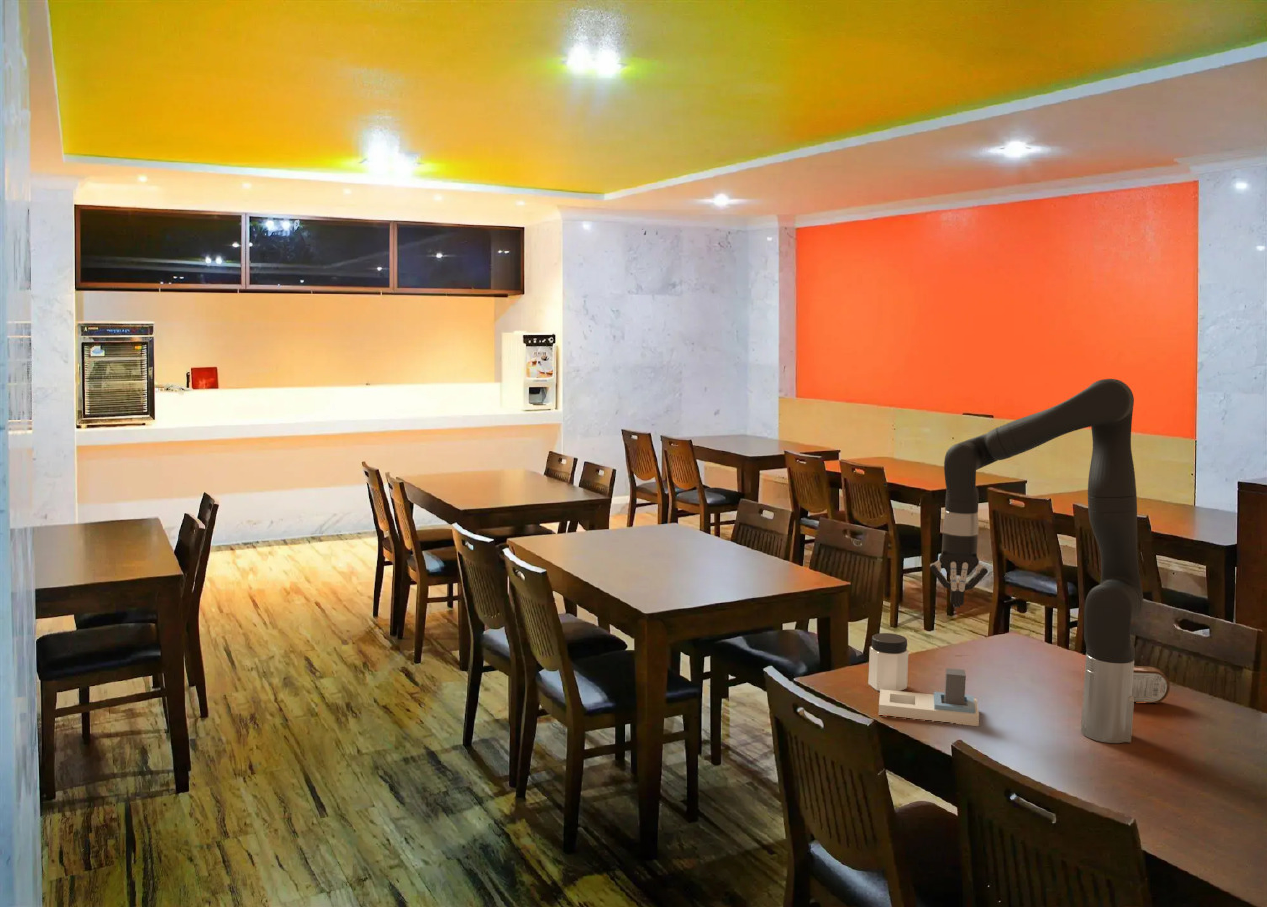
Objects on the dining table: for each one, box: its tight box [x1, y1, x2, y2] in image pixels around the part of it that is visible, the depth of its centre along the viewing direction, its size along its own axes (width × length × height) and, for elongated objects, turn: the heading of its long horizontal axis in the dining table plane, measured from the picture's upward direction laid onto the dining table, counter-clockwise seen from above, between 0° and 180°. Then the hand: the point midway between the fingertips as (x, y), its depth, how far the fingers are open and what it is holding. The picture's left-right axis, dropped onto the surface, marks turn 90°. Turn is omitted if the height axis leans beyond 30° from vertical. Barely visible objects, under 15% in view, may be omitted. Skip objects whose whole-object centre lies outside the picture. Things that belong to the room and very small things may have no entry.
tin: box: [1132, 665, 1171, 704], centre depth 235 cm, size 15×3×8 cm, turn 84°
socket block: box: [878, 689, 980, 727], centre depth 228 cm, size 21×10×4 cm, turn 75°
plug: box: [944, 667, 967, 705], centre depth 226 cm, size 4×4×10 cm
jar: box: [868, 632, 909, 692], centre depth 244 cm, size 9×8×12 cm
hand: (956, 606), depth 231 cm, fingers closed
